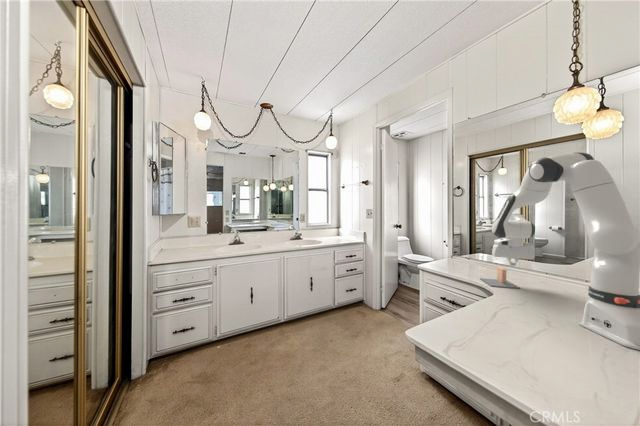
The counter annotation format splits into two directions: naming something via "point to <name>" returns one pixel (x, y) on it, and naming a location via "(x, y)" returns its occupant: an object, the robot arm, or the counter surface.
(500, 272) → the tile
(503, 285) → the mat
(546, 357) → the counter surface
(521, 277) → the counter surface
